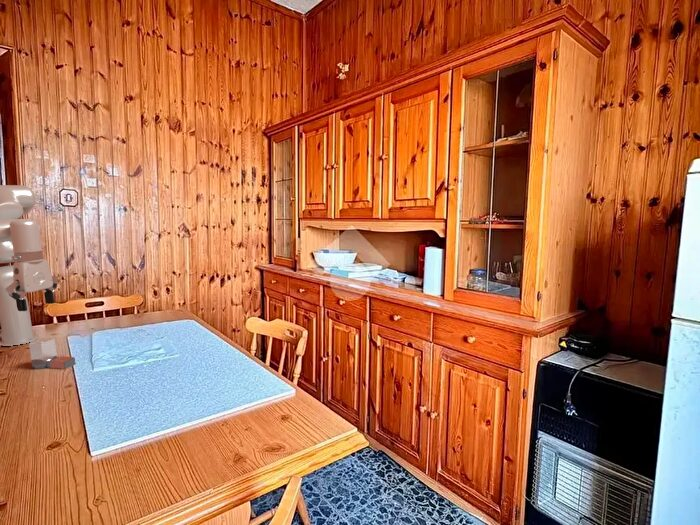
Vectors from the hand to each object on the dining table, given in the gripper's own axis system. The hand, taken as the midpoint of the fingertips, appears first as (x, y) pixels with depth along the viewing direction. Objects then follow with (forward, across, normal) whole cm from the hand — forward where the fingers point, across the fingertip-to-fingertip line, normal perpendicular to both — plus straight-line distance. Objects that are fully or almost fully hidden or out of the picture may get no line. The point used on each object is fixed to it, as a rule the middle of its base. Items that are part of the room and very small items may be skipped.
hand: (36, 306), depth 136 cm
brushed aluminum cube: (+18, -1, -1) cm, 18 cm away
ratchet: (+20, -1, -4) cm, 21 cm away
